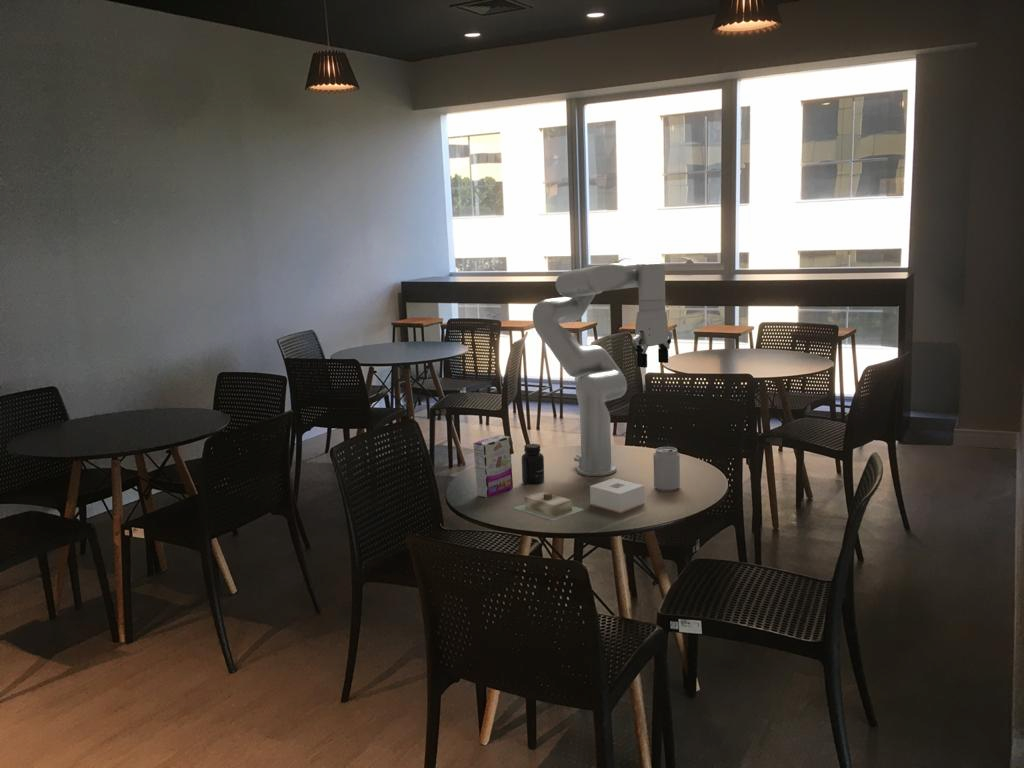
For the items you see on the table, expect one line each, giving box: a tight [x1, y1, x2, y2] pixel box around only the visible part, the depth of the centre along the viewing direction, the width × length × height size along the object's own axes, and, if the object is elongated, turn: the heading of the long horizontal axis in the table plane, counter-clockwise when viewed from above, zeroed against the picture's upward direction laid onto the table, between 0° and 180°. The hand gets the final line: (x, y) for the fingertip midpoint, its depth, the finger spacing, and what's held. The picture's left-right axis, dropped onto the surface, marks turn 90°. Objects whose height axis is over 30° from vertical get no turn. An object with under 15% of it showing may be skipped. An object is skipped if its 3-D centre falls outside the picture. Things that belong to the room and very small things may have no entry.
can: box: [653, 446, 681, 492], centre depth 246 cm, size 8×8×12 cm
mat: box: [513, 503, 585, 522], centre depth 232 cm, size 16×12×1 cm
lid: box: [524, 490, 573, 516], centre depth 232 cm, size 12×6×4 cm, turn 42°
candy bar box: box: [473, 434, 514, 499], centre depth 249 cm, size 11×5×16 cm, turn 137°
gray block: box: [589, 477, 645, 514], centre depth 232 cm, size 11×10×6 cm
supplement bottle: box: [521, 443, 545, 486], centre depth 257 cm, size 7×7×12 cm
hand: (652, 364), depth 243 cm, fingers open, 9 cm apart
